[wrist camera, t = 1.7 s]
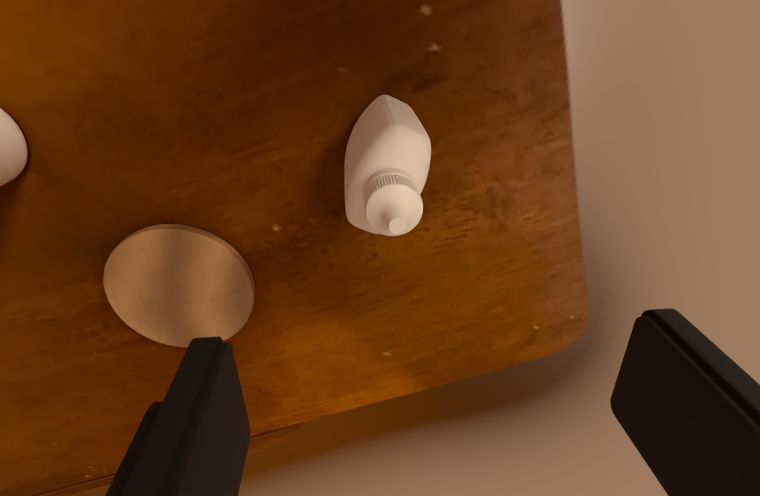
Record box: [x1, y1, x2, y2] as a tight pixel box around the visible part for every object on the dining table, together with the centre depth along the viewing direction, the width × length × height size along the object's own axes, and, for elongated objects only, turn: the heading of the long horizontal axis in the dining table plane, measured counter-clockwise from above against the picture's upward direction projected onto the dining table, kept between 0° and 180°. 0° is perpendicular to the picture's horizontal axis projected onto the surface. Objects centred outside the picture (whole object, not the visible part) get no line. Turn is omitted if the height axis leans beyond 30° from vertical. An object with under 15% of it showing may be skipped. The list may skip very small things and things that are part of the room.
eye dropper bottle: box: [344, 95, 431, 236], centre depth 22 cm, size 4×6×12 cm
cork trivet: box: [103, 224, 255, 348], centre depth 31 cm, size 10×10×1 cm
